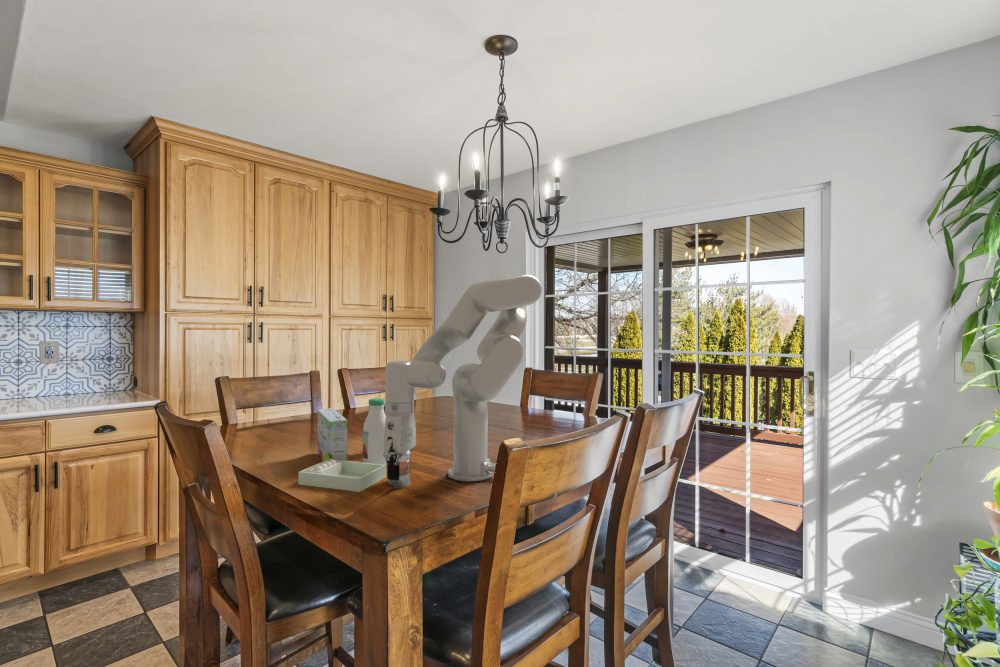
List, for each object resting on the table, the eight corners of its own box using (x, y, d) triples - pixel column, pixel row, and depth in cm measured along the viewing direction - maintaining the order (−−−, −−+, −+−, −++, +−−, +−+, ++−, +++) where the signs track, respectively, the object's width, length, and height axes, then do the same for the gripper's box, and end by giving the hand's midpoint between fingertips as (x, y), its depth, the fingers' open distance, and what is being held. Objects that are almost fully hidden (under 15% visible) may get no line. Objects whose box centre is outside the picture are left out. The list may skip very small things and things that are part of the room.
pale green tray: (385, 479, 135) (386, 464, 135) (359, 494, 122) (359, 478, 122) (329, 473, 140) (329, 459, 140) (298, 487, 127) (298, 471, 127)
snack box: (316, 455, 158) (316, 409, 158) (334, 453, 161) (334, 407, 161) (328, 473, 140) (329, 420, 139) (349, 471, 142) (349, 419, 142)
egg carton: (341, 474, 136) (341, 459, 136) (321, 484, 128) (321, 467, 128) (329, 472, 138) (329, 457, 137) (308, 482, 129) (308, 466, 129)
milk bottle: (392, 462, 152) (393, 397, 151) (384, 469, 144) (384, 401, 144) (368, 461, 152) (368, 396, 152) (358, 468, 145) (359, 400, 144)
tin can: (413, 482, 132) (413, 445, 132) (403, 489, 127) (403, 450, 127) (394, 480, 134) (394, 444, 134) (384, 487, 129) (384, 448, 128)
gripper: (397, 414, 121) (396, 487, 121) (426, 403, 137) (425, 468, 138) (369, 412, 123) (369, 484, 123) (402, 402, 139) (401, 466, 140)
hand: (399, 475), depth 130 cm, fingers closed on tin can, 5 cm apart
